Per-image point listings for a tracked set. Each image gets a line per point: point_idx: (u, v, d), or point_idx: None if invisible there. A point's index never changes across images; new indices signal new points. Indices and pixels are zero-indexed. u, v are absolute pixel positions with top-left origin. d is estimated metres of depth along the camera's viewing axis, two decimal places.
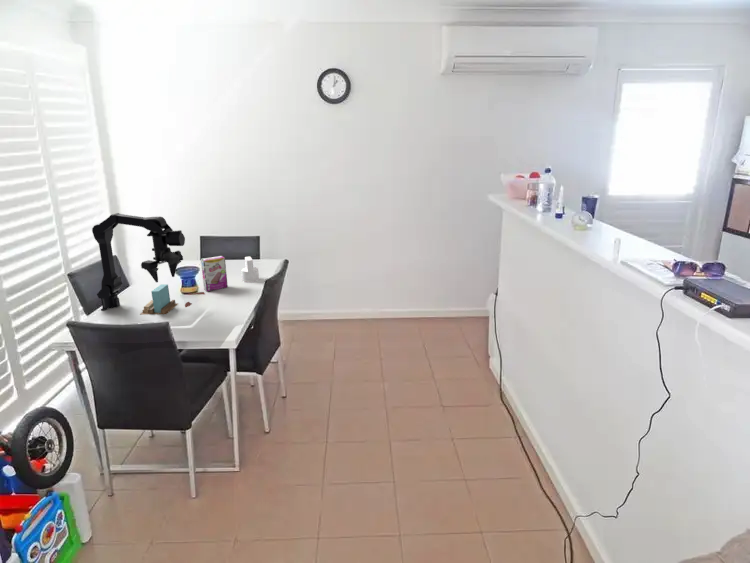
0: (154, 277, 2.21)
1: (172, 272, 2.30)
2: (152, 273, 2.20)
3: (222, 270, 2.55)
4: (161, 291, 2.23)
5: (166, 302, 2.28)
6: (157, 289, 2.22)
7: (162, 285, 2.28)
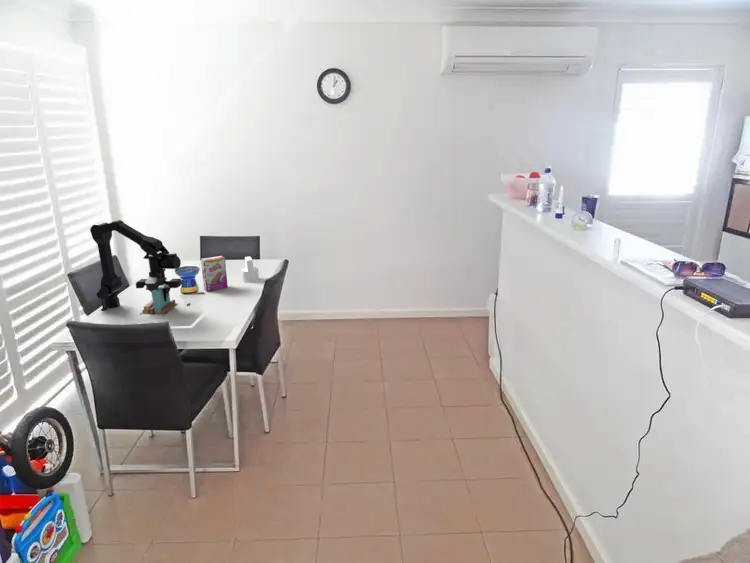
0: None
1: None
2: None
3: (222, 270, 2.55)
4: (161, 291, 2.23)
5: (166, 302, 2.28)
6: (157, 289, 2.22)
7: (162, 285, 2.28)
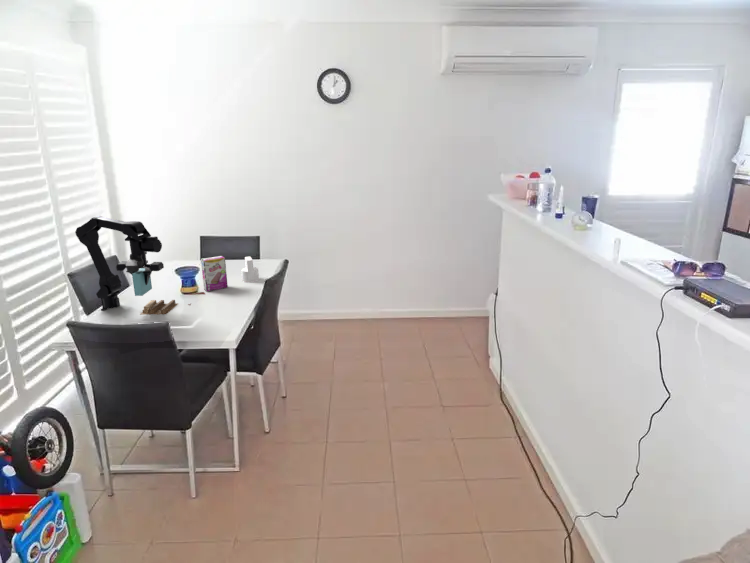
0: None
1: None
2: None
3: (222, 270, 2.55)
4: (142, 274, 2.20)
5: (147, 285, 2.25)
6: (138, 272, 2.20)
7: (143, 268, 2.26)
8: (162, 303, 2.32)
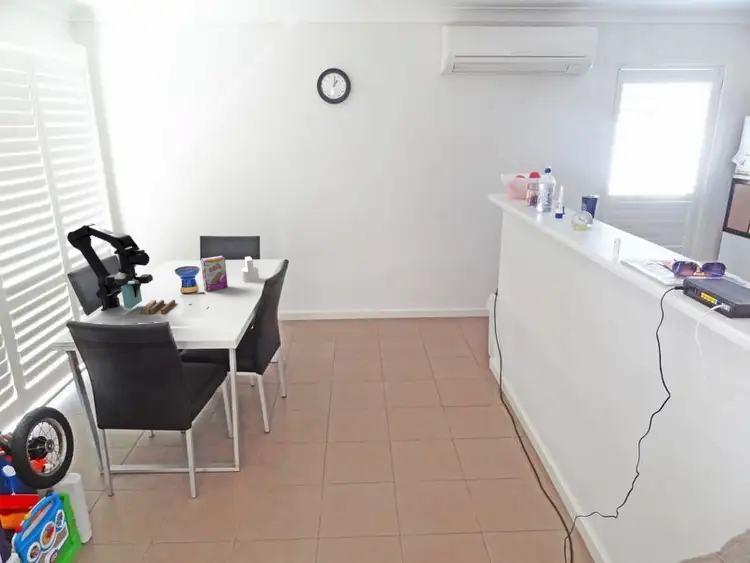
0: None
1: None
2: None
3: (222, 270, 2.55)
4: (131, 287, 2.22)
5: (137, 298, 2.27)
6: (127, 285, 2.22)
7: (133, 281, 2.27)
8: (162, 303, 2.32)
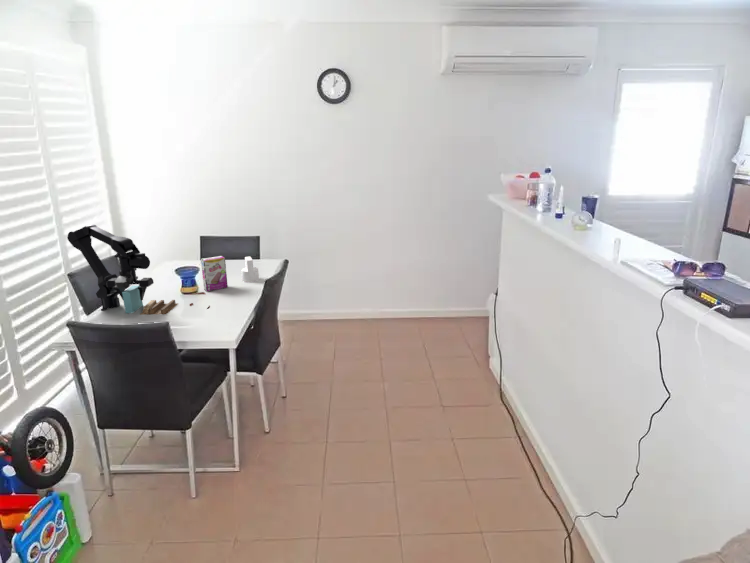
0: None
1: None
2: None
3: (222, 270, 2.55)
4: (132, 292, 2.23)
5: (138, 303, 2.28)
6: (128, 290, 2.23)
7: (134, 286, 2.28)
8: (162, 303, 2.32)
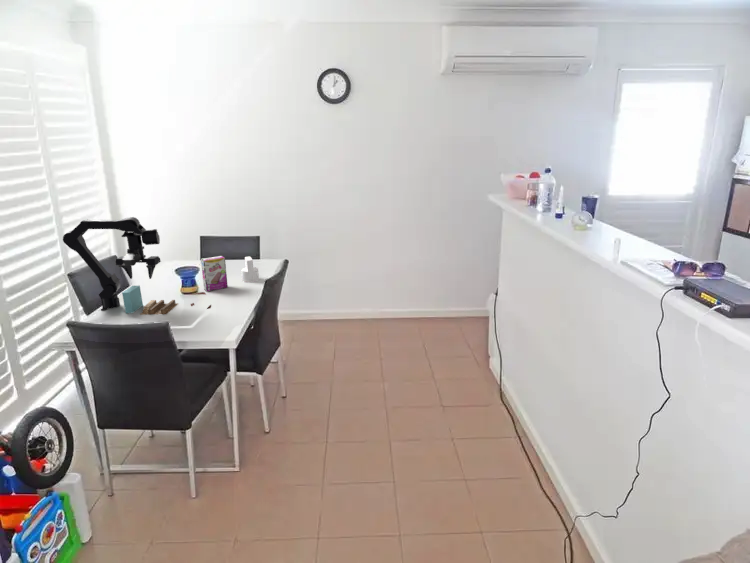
0: None
1: None
2: None
3: (222, 270, 2.55)
4: (132, 292, 2.23)
5: (138, 303, 2.28)
6: (128, 290, 2.23)
7: (134, 286, 2.28)
8: (162, 303, 2.32)
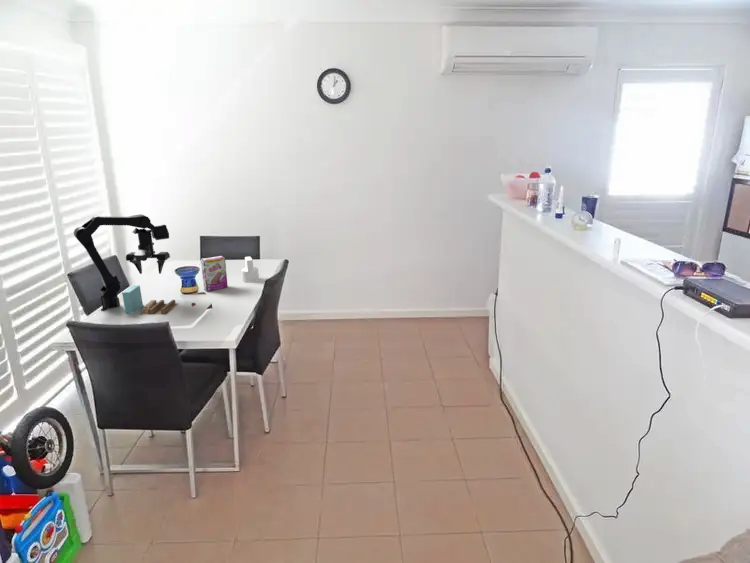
0: None
1: None
2: None
3: (222, 270, 2.55)
4: (132, 292, 2.23)
5: (138, 303, 2.28)
6: (128, 290, 2.23)
7: (134, 286, 2.28)
8: (162, 303, 2.32)
